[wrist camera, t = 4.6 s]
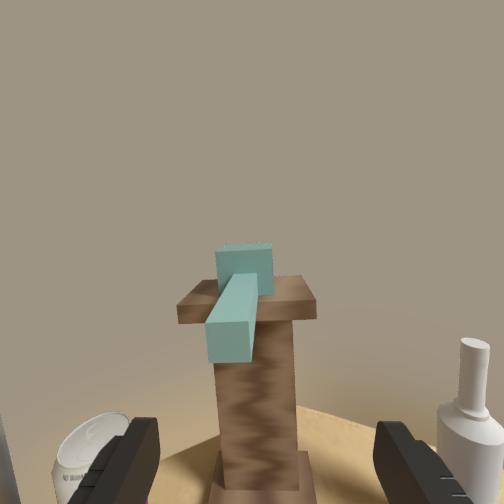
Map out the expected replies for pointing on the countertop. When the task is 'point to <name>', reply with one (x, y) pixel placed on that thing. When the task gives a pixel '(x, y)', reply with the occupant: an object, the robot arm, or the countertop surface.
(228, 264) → the mallet
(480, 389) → the bottle
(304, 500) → the stand
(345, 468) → the countertop surface
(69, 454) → the supplement can
